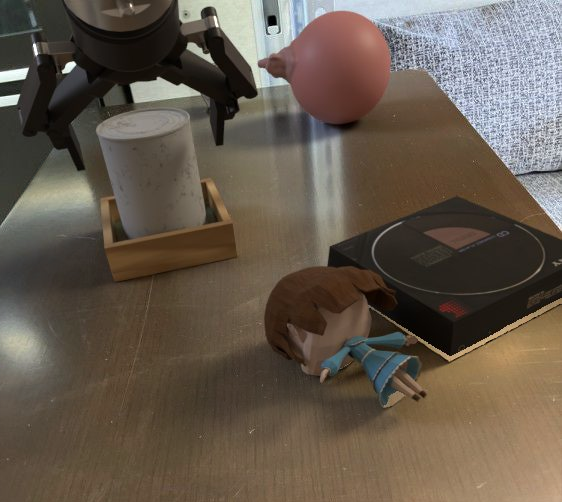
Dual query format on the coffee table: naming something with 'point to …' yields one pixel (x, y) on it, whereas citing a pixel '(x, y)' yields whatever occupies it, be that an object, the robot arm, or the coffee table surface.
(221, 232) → the wooden box
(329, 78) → the balloon
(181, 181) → the speckled white tin can
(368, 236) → the portable cd player
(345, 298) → the figurine
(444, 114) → the coffee table surface
